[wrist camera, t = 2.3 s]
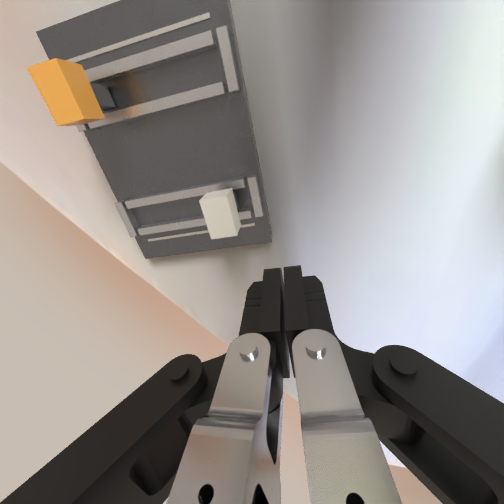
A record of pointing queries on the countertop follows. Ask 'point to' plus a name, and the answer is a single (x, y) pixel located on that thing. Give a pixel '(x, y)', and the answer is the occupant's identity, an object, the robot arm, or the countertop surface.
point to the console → (169, 118)
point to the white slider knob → (221, 213)
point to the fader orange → (70, 92)
